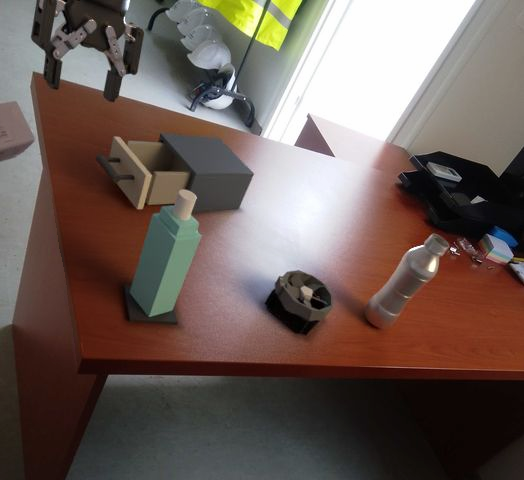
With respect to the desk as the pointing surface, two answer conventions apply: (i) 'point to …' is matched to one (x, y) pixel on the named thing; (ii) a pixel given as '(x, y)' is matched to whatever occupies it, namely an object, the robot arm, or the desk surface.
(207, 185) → the cabinet
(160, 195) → the drawer
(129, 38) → the robot arm
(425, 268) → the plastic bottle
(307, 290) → the cpu cooler
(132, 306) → the mat
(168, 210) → the soap bottle
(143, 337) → the desk surface
